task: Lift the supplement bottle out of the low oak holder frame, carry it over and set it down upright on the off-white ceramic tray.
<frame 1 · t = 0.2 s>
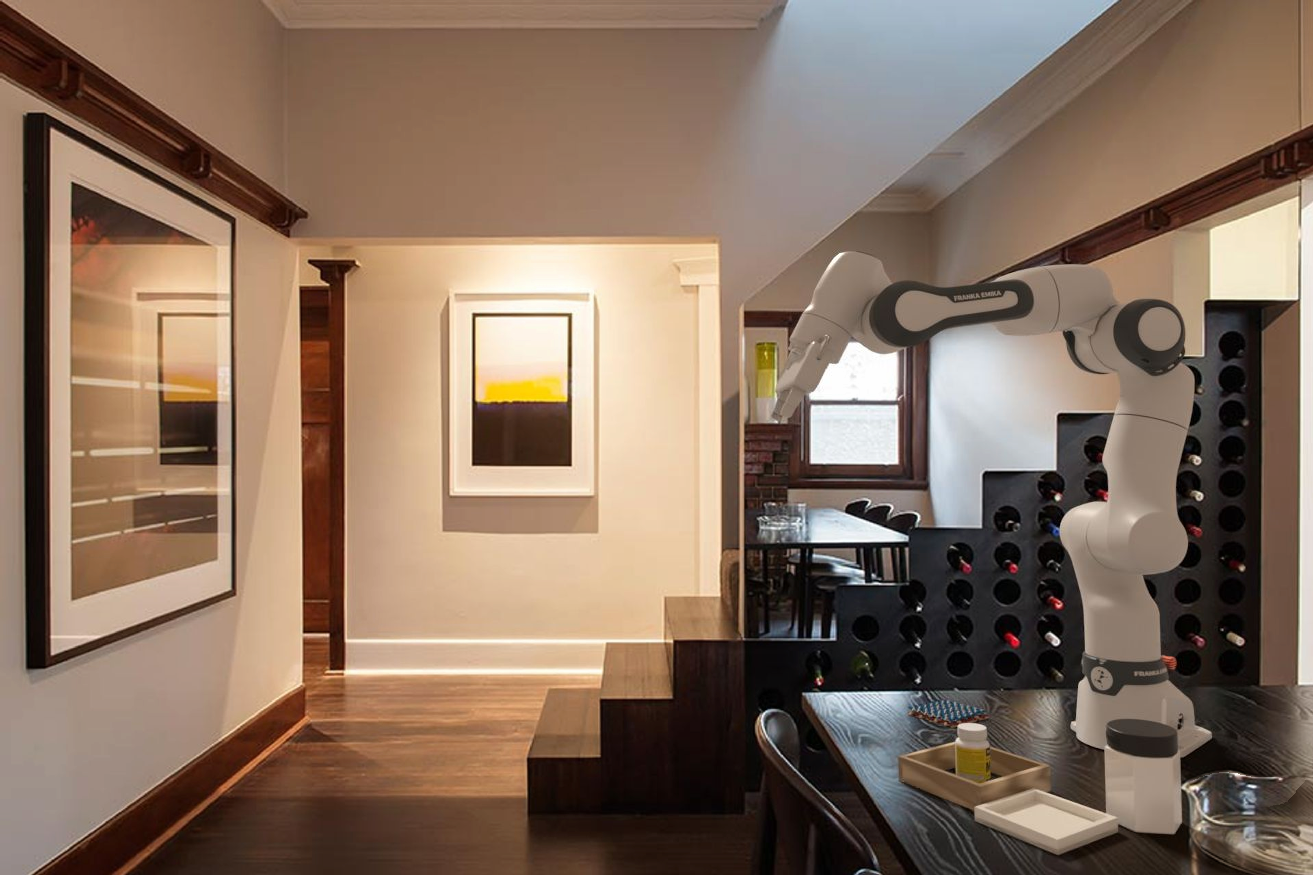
hand: (779, 417, 146), 54 cm above the table, tool tilted 30°, fingers open, 8 cm apart
supplement bottle: (973, 786, 129), resting in holder frame
woven mat: (948, 720, 163), on the table
holder frame: (973, 785, 129), on the table
tray: (1045, 826, 114), on the table
jar: (1143, 822, 116), on the table
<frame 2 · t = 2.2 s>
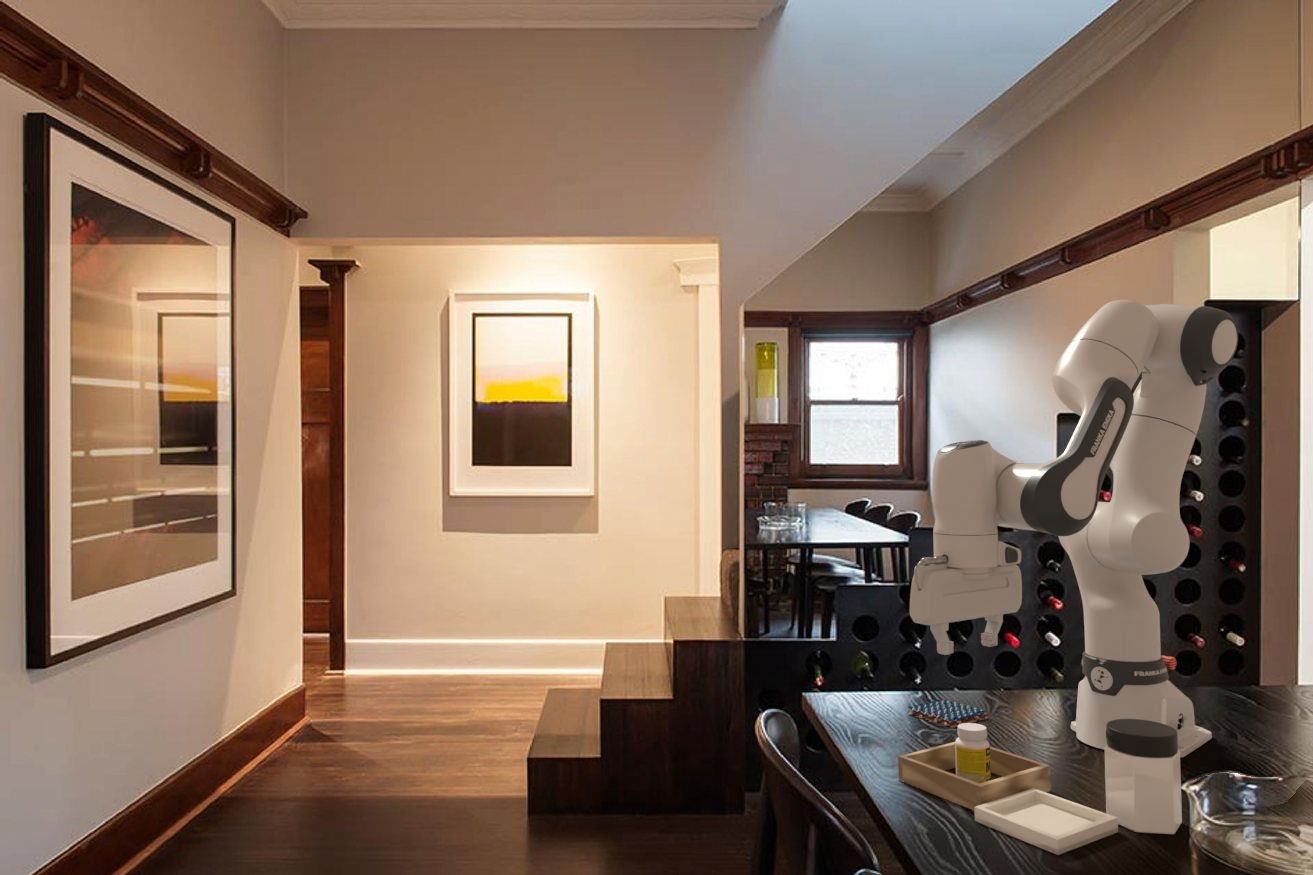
hand: (967, 649, 129), 19 cm above the table, tool pointing down, fingers open, 8 cm apart
nothing on the table moved.
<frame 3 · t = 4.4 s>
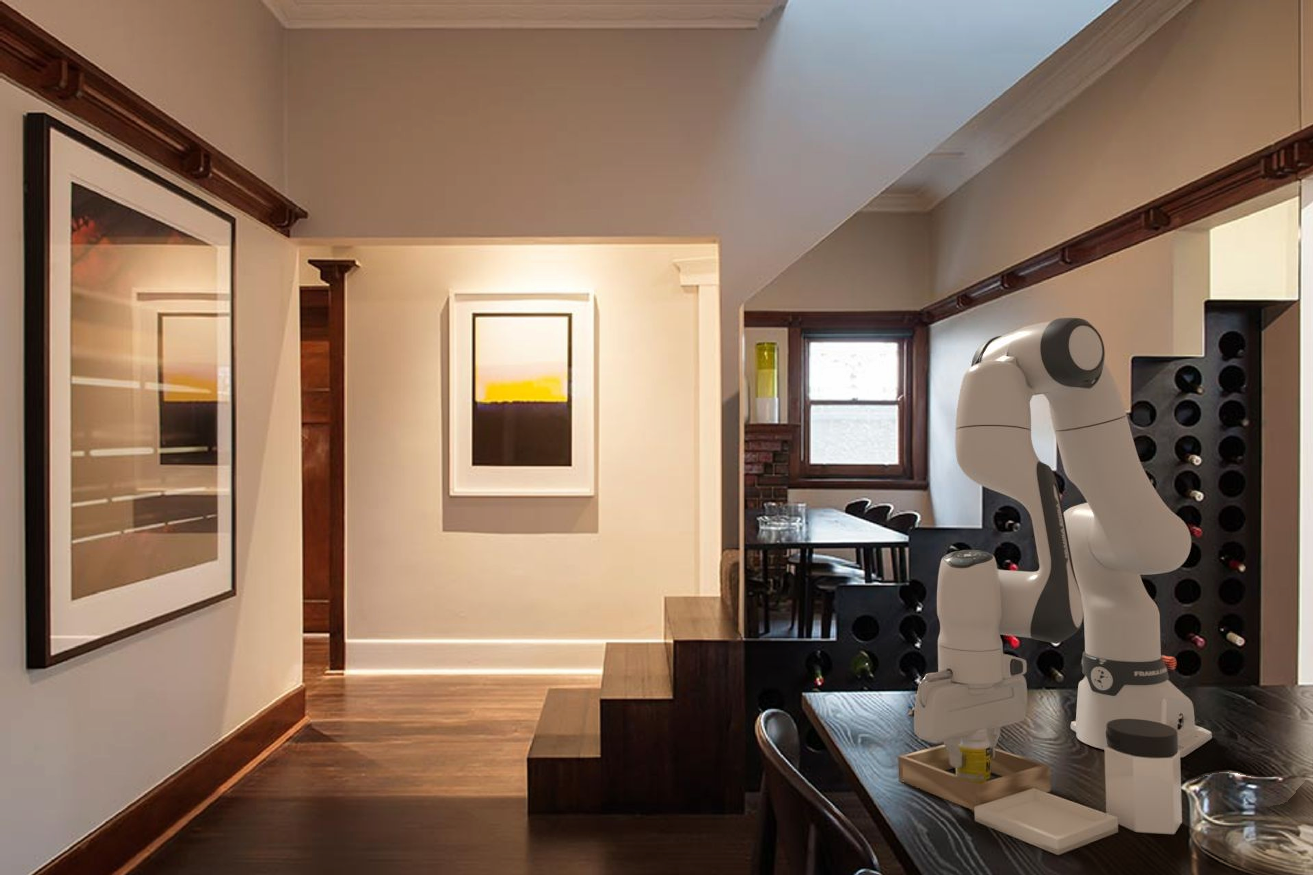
hand: (972, 762, 129), 3 cm above the table, tool pointing down, fingers closed on supplement bottle, 5 cm apart
supplement bottle: (973, 786, 129), resting in holder frame, touching gripper
everything else where it was.
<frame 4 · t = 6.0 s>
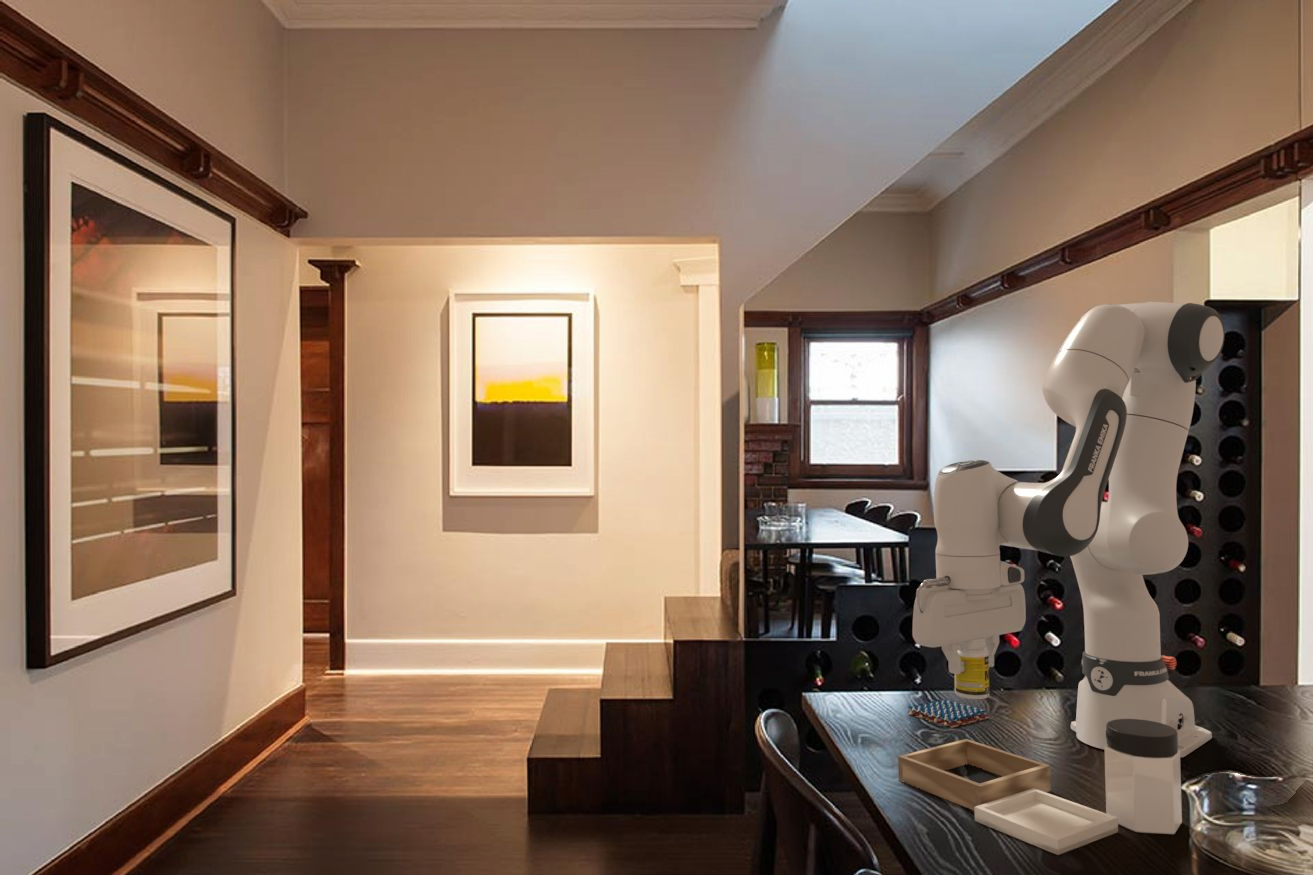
hand: (971, 669, 129), 16 cm above the table, tool pointing down, fingers closed on supplement bottle, 5 cm apart
supplement bottle: (972, 696, 129), point 13 cm above the table, touching gripper
everything else where it was.
when the fingers open (14 cm above the table, at t = 7.7 s): supplement bottle drops 7 cm, resting on tray.
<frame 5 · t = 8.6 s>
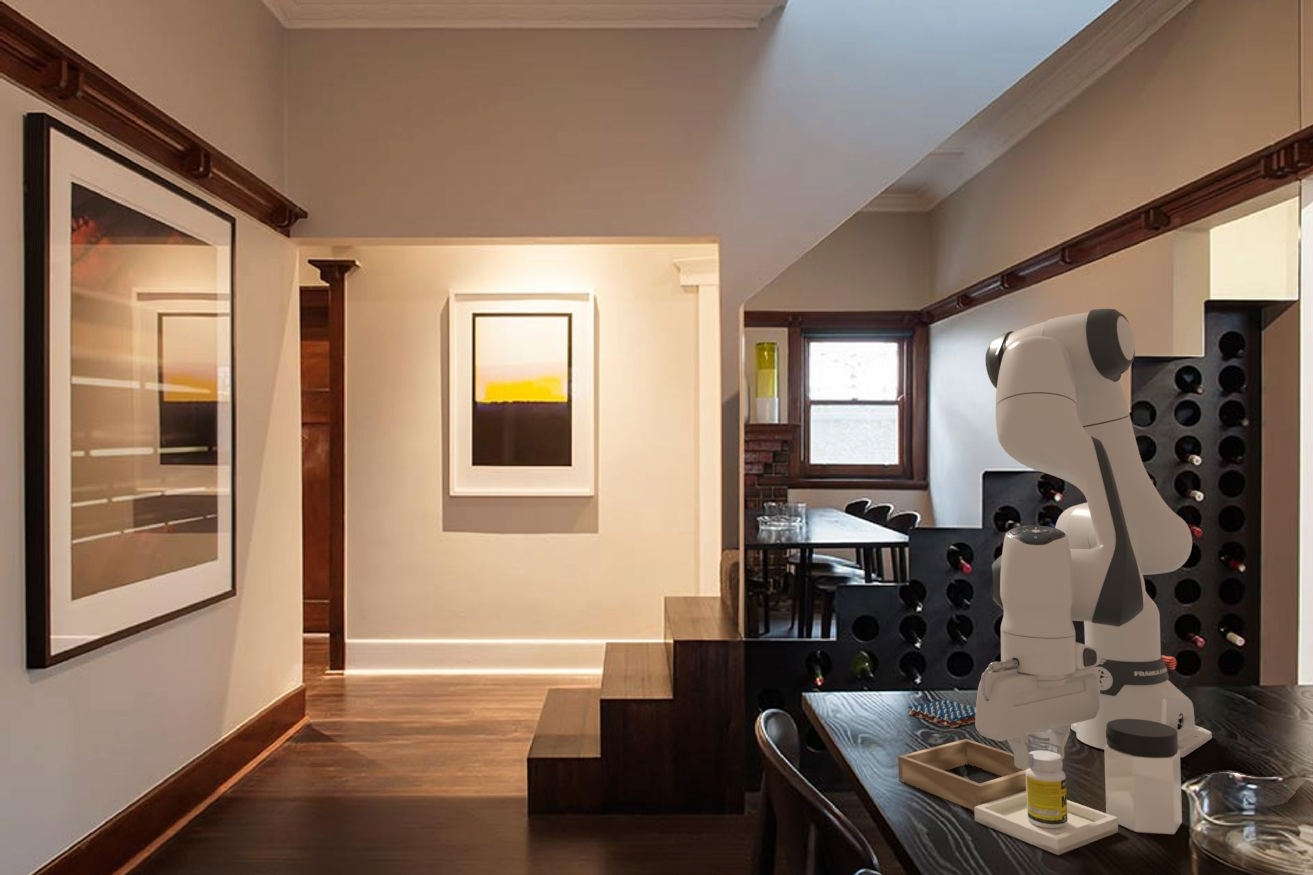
hand: (1039, 763, 115), 8 cm above the table, tool pointing down, fingers open, 5 cm apart
supplement bottle: (1047, 823, 114), resting on tray, touching gripper
everything else where it was.
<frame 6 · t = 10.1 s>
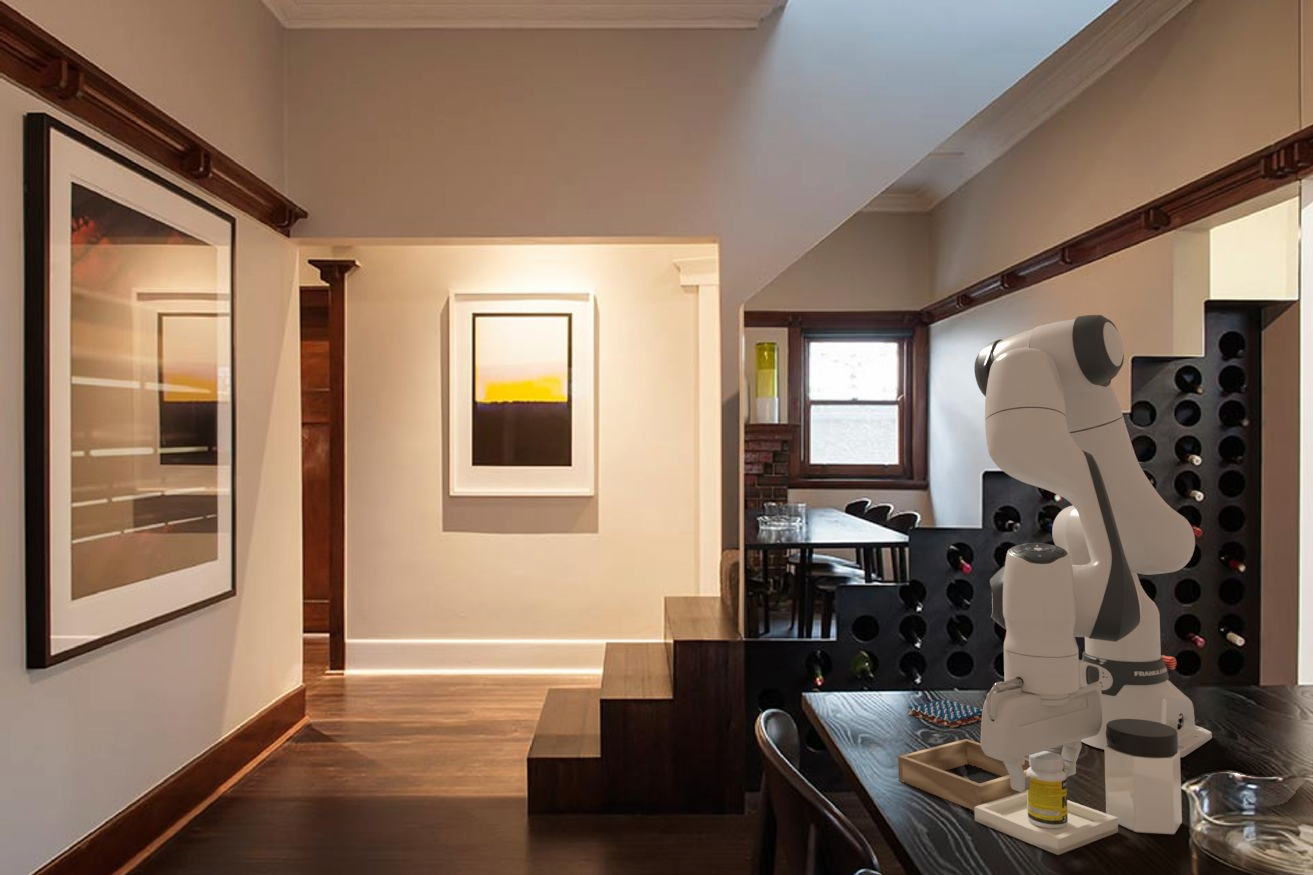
hand: (1043, 781, 115), 6 cm above the table, tool pointing down, fingers open, 8 cm apart
supplement bottle: (1047, 823, 114), resting on tray
everything else where it was.
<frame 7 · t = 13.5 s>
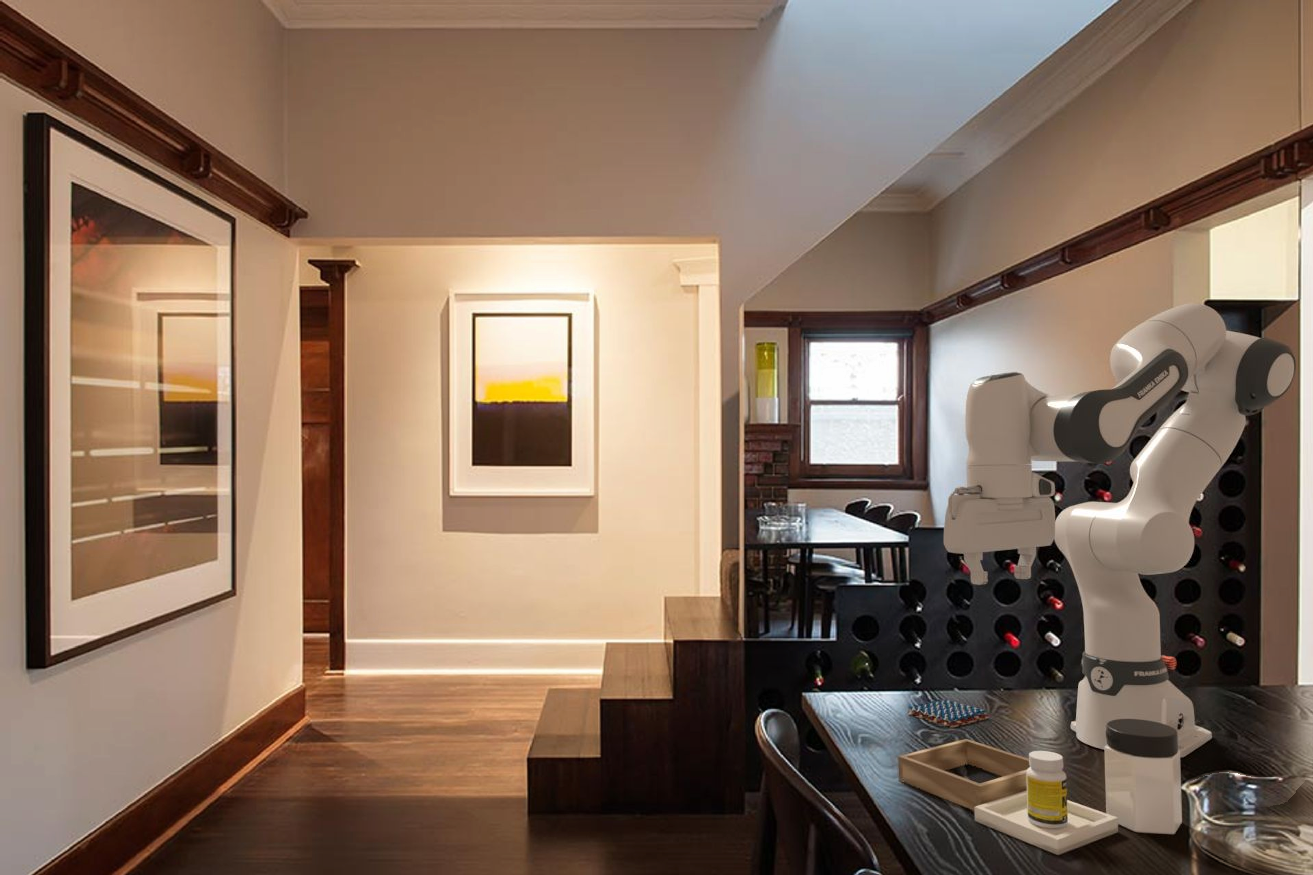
hand: (1001, 581, 129), 29 cm above the table, tool pointing down, fingers open, 8 cm apart
nothing on the table moved.
at the end: supplement bottle inside the target area on the tray (0.3 cm from its centre), point 0.4 cm above the tray's base; supplement bottle tilted 0°; the gripper is holding nothing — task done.
